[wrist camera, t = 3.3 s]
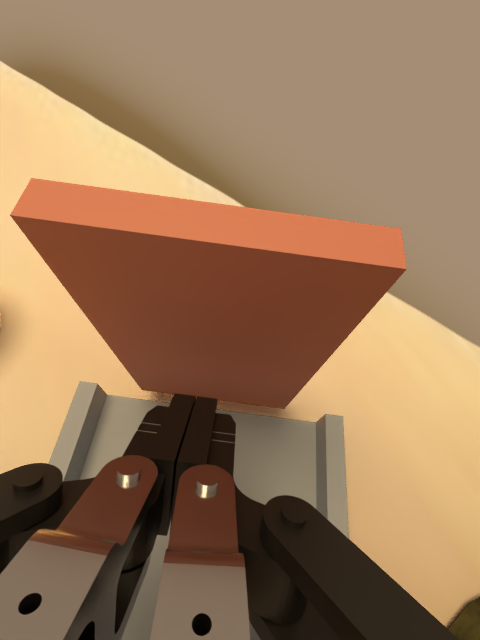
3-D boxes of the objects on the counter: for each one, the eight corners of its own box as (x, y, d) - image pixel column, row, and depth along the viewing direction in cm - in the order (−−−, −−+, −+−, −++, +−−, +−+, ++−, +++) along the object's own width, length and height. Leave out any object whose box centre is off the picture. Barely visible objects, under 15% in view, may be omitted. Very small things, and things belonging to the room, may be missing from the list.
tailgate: (284, 408, 21) (406, 269, 8) (141, 389, 21) (10, 215, 7) (285, 381, 22) (398, 210, 8) (148, 362, 22) (41, 161, 8)
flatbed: (328, 782, 15) (460, 1081, 7) (-14, 739, 14) (-271, 993, 7) (322, 432, 22) (381, 386, 15) (100, 402, 22) (40, 340, 14)
